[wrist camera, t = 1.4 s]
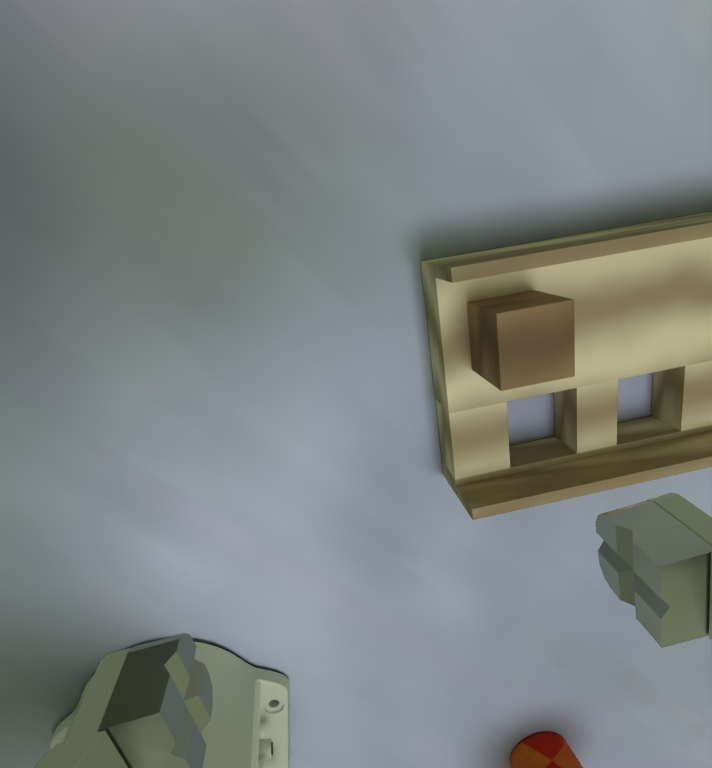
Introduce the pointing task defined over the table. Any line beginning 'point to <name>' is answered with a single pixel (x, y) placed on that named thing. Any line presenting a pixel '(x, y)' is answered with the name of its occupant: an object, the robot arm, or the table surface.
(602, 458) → the trap track
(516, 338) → the walnut block
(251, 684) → the robot arm
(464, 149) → the table surface
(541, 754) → the coffee cup
